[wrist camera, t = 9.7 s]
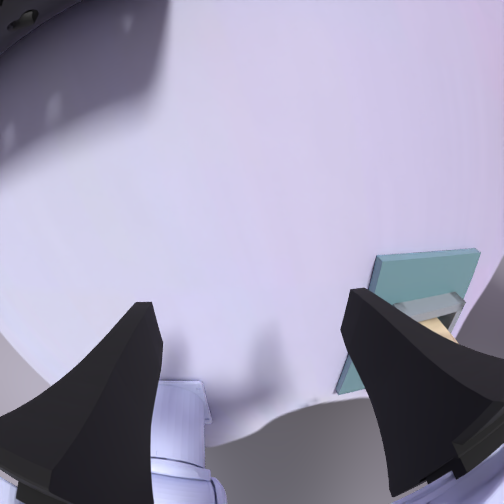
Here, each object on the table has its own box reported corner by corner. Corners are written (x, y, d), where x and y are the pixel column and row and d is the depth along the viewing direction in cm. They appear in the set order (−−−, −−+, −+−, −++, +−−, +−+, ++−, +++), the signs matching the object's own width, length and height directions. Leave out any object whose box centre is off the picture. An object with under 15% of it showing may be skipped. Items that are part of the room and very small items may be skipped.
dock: (423, 364, 30) (433, 379, 27) (335, 388, 28) (343, 408, 26) (475, 248, 22) (492, 261, 19) (376, 255, 20) (395, 274, 18)
